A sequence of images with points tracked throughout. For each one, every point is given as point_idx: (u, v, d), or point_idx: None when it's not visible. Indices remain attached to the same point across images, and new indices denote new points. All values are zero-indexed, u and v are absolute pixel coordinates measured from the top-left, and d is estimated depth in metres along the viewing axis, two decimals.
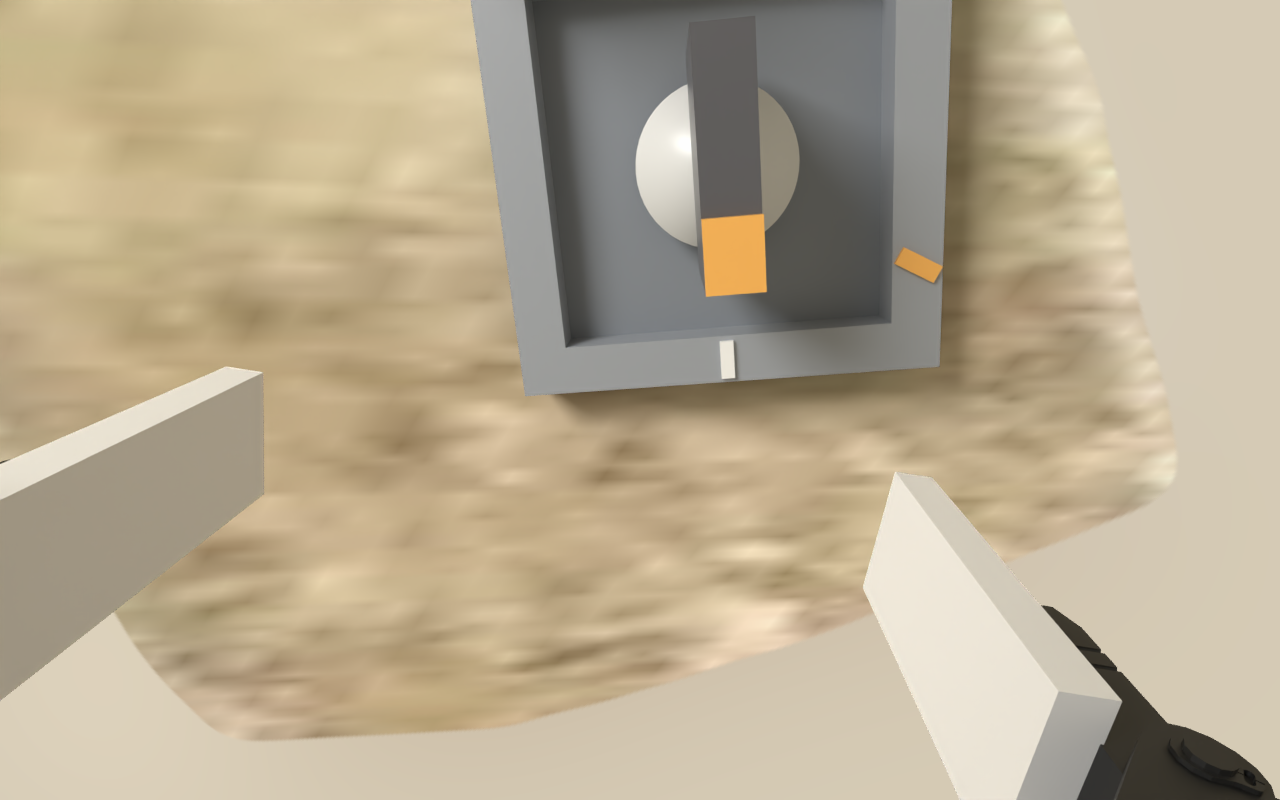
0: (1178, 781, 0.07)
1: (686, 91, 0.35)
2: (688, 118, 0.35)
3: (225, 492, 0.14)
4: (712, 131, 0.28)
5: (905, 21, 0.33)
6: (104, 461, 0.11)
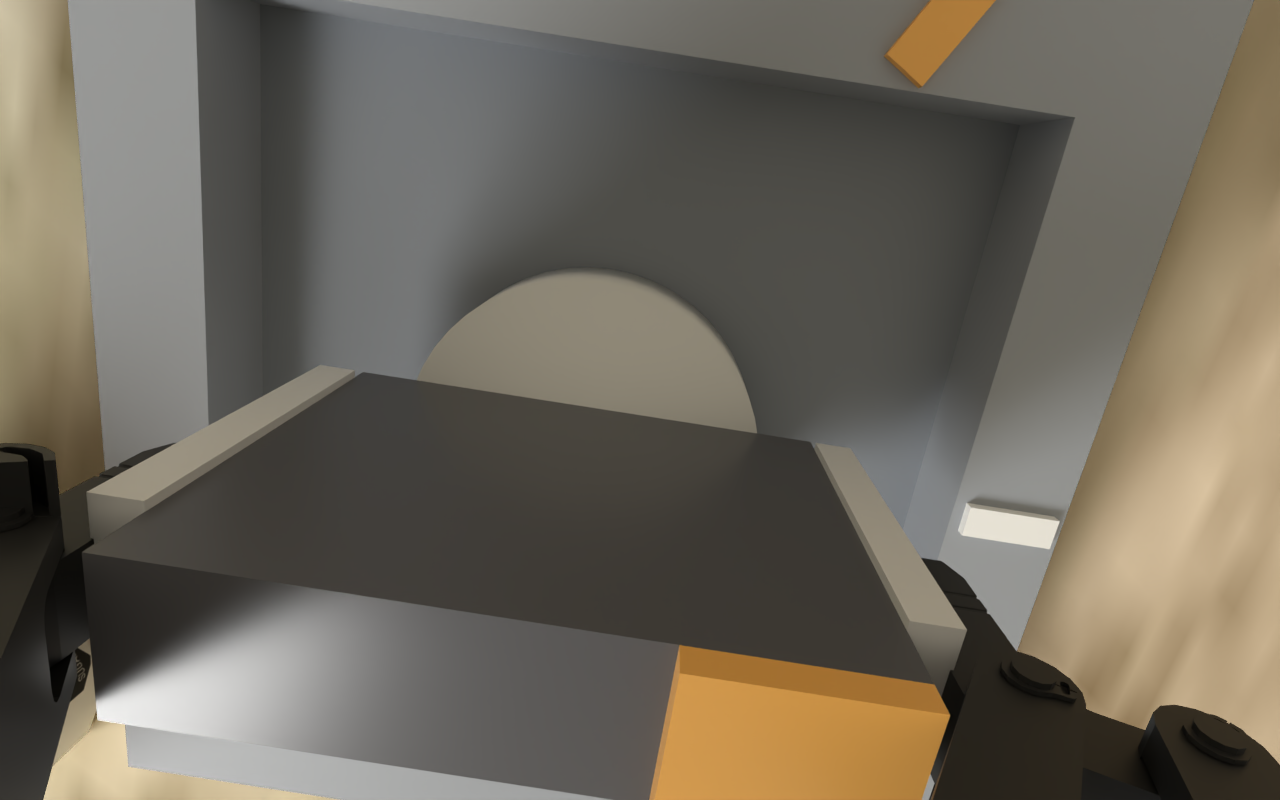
0: (1008, 698, 0.08)
1: None
2: None
3: None
4: (401, 725, 0.09)
5: None
6: None
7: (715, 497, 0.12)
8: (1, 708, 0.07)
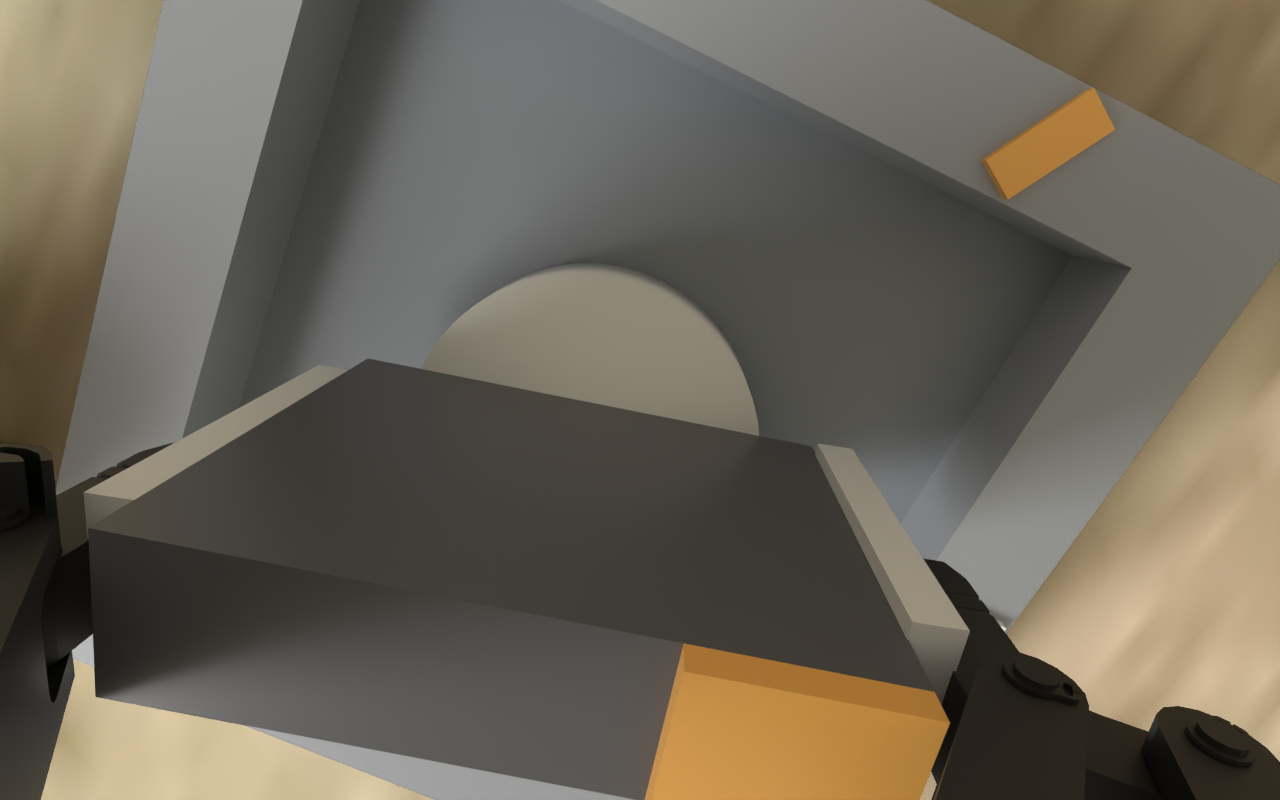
0: (1010, 700, 0.08)
1: None
2: None
3: None
4: (401, 713, 0.09)
5: None
6: None
7: (717, 498, 0.13)
8: None
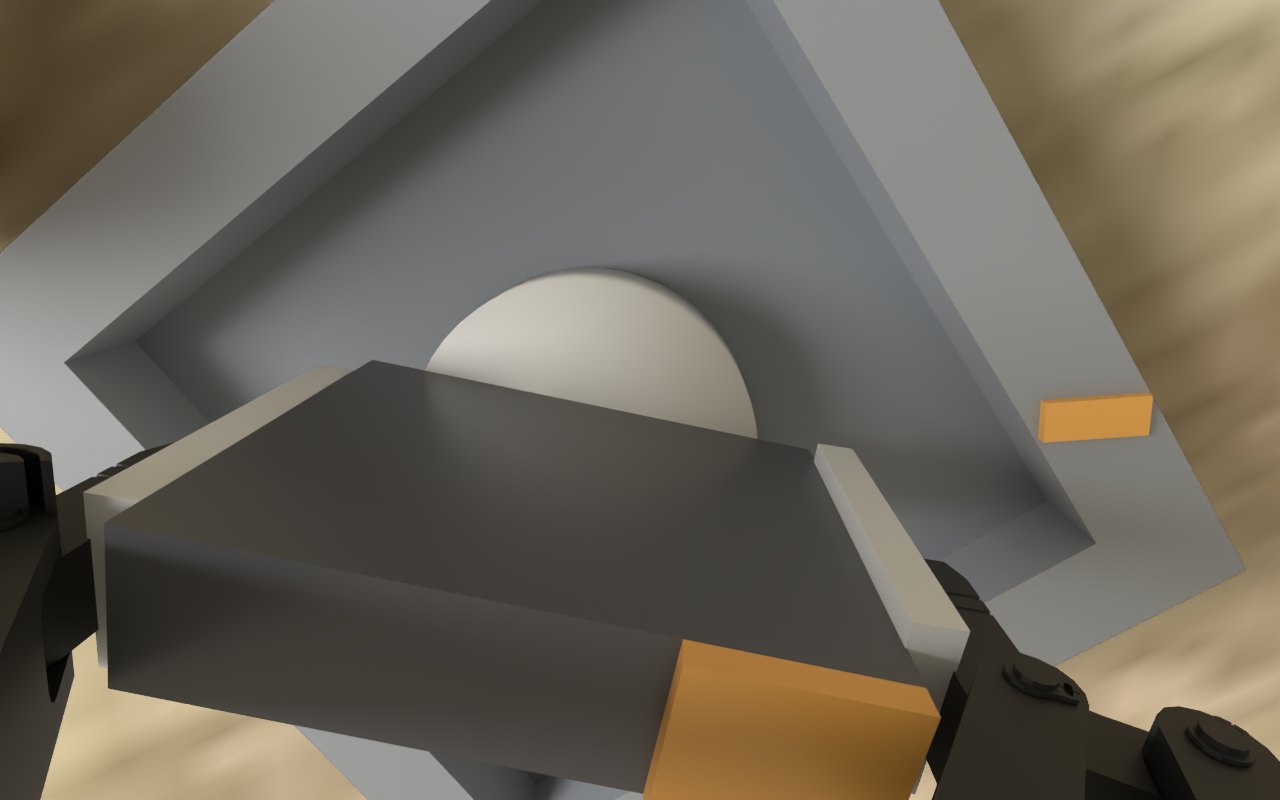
0: (1011, 700, 0.08)
1: None
2: None
3: None
4: (407, 706, 0.09)
5: None
6: None
7: (716, 498, 0.13)
8: None
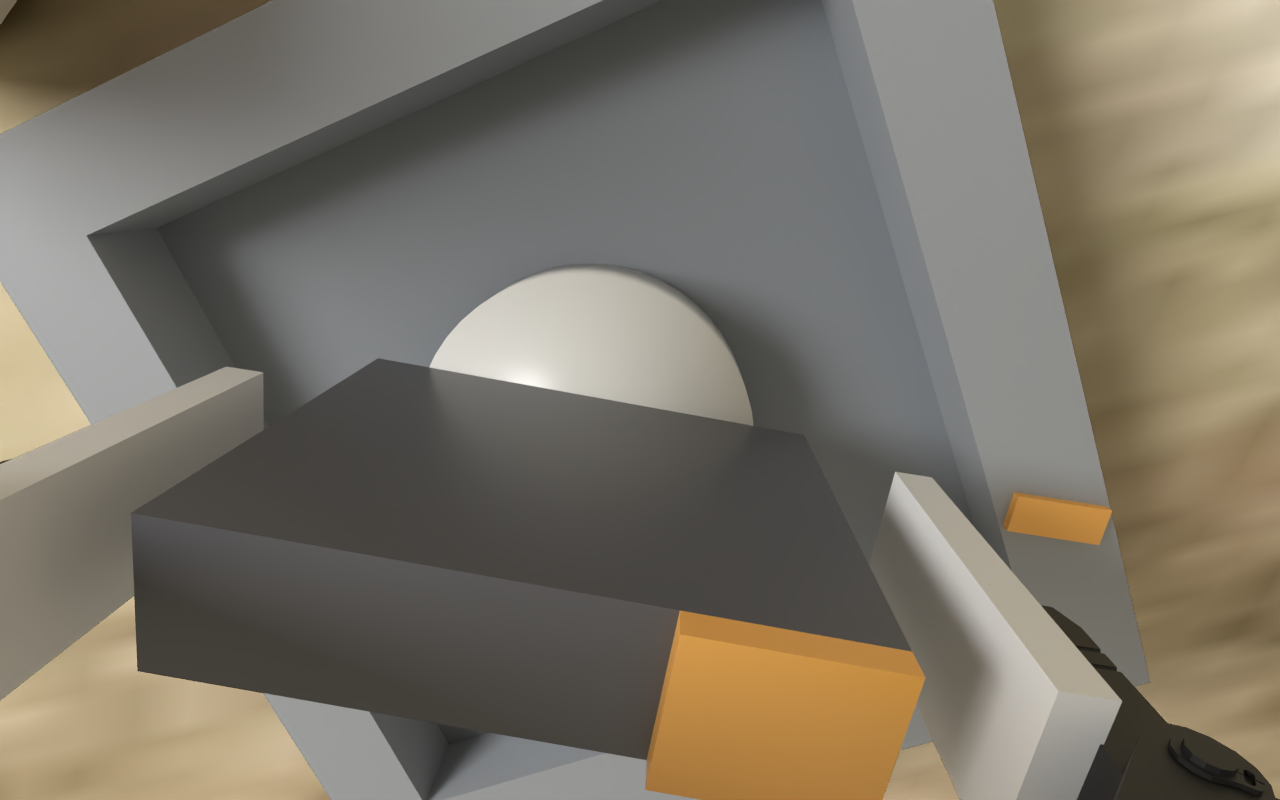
0: (1177, 781, 0.07)
1: None
2: None
3: None
4: (420, 680, 0.10)
5: (889, 49, 0.14)
6: (104, 461, 0.11)
7: (712, 482, 0.13)
8: None
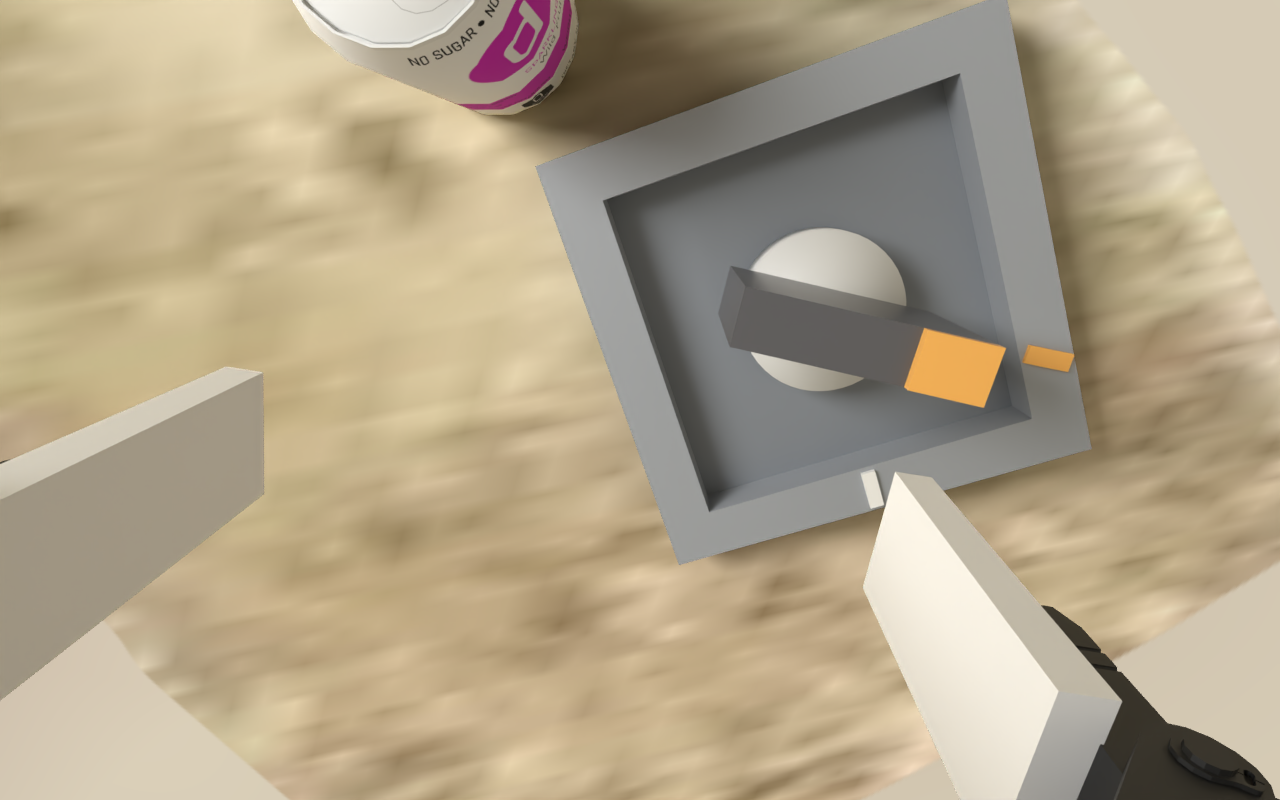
0: (1178, 781, 0.07)
1: None
2: None
3: (225, 492, 0.14)
4: (829, 352, 0.28)
5: (983, 136, 0.33)
6: (104, 461, 0.11)
7: (906, 313, 0.32)
8: None
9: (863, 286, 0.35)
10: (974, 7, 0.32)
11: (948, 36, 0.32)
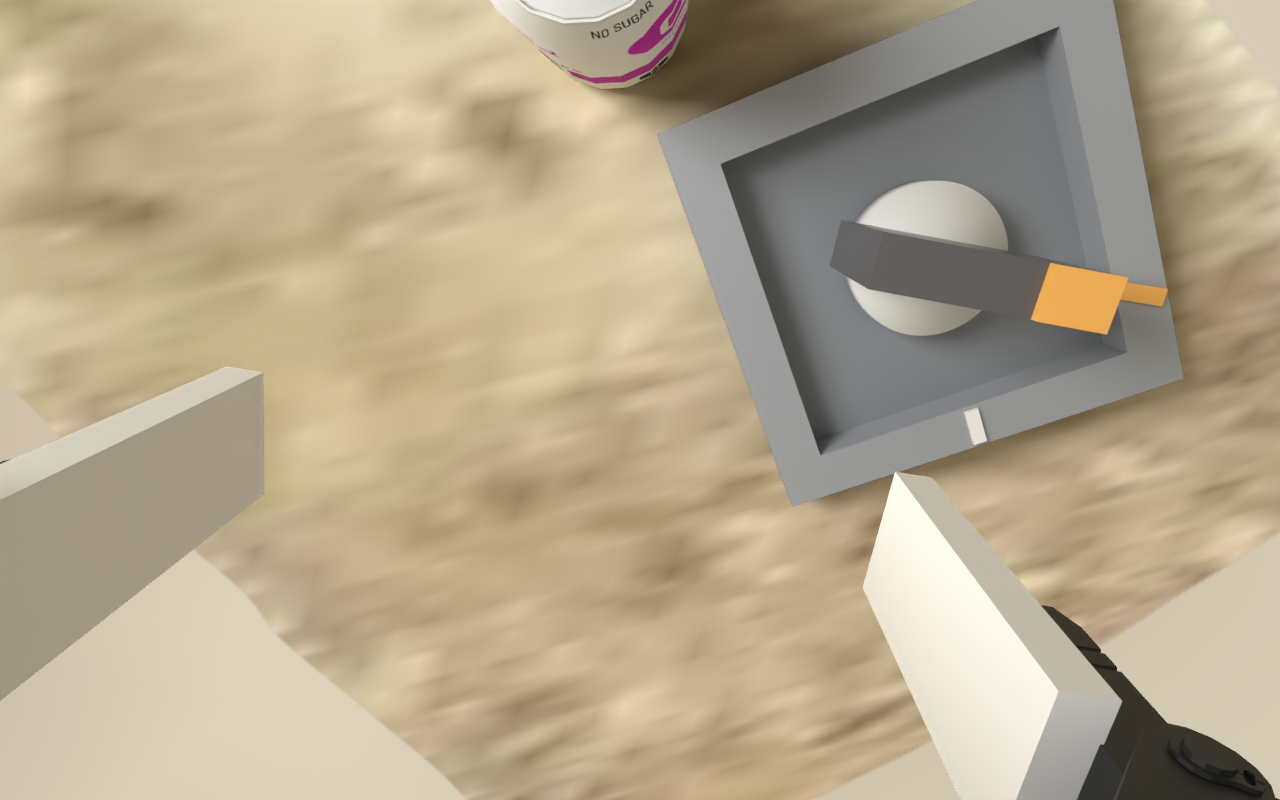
0: (1177, 781, 0.07)
1: None
2: None
3: (225, 492, 0.14)
4: (961, 290, 0.30)
5: (1081, 85, 0.35)
6: (104, 461, 0.11)
7: (1018, 254, 0.34)
8: None
9: (967, 233, 0.37)
10: None
11: None
